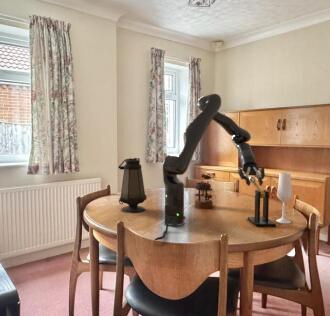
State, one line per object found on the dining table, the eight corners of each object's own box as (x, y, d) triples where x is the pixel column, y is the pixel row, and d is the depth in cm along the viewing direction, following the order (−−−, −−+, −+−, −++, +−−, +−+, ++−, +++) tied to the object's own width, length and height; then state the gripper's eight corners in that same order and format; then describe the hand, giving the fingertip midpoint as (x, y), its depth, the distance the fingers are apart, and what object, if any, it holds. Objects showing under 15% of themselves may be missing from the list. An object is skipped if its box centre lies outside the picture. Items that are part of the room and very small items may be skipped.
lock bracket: (247, 219, 150) (248, 188, 149) (265, 219, 150) (266, 188, 148) (256, 226, 138) (257, 193, 137) (275, 226, 138) (276, 193, 137)
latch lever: (247, 181, 157) (248, 175, 156) (253, 181, 157) (254, 175, 156) (258, 198, 142) (260, 193, 141) (265, 198, 142) (266, 193, 141)
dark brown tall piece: (204, 203, 186) (206, 171, 183) (217, 207, 177) (220, 175, 174) (186, 206, 178) (188, 173, 175) (199, 211, 169) (202, 177, 166)
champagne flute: (272, 220, 148) (274, 172, 146) (283, 218, 150) (284, 172, 148) (283, 224, 142) (285, 174, 140) (294, 222, 144) (296, 173, 142)
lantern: (128, 215, 159) (127, 159, 157) (112, 209, 171) (112, 158, 169) (153, 209, 171) (153, 157, 168) (137, 204, 183) (137, 156, 180)
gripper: (236, 155, 160) (242, 180, 149) (262, 155, 159) (271, 180, 148) (232, 164, 165) (239, 189, 154) (258, 163, 165) (266, 188, 154)
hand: (255, 184), depth 151 cm, fingers open, 5 cm apart
